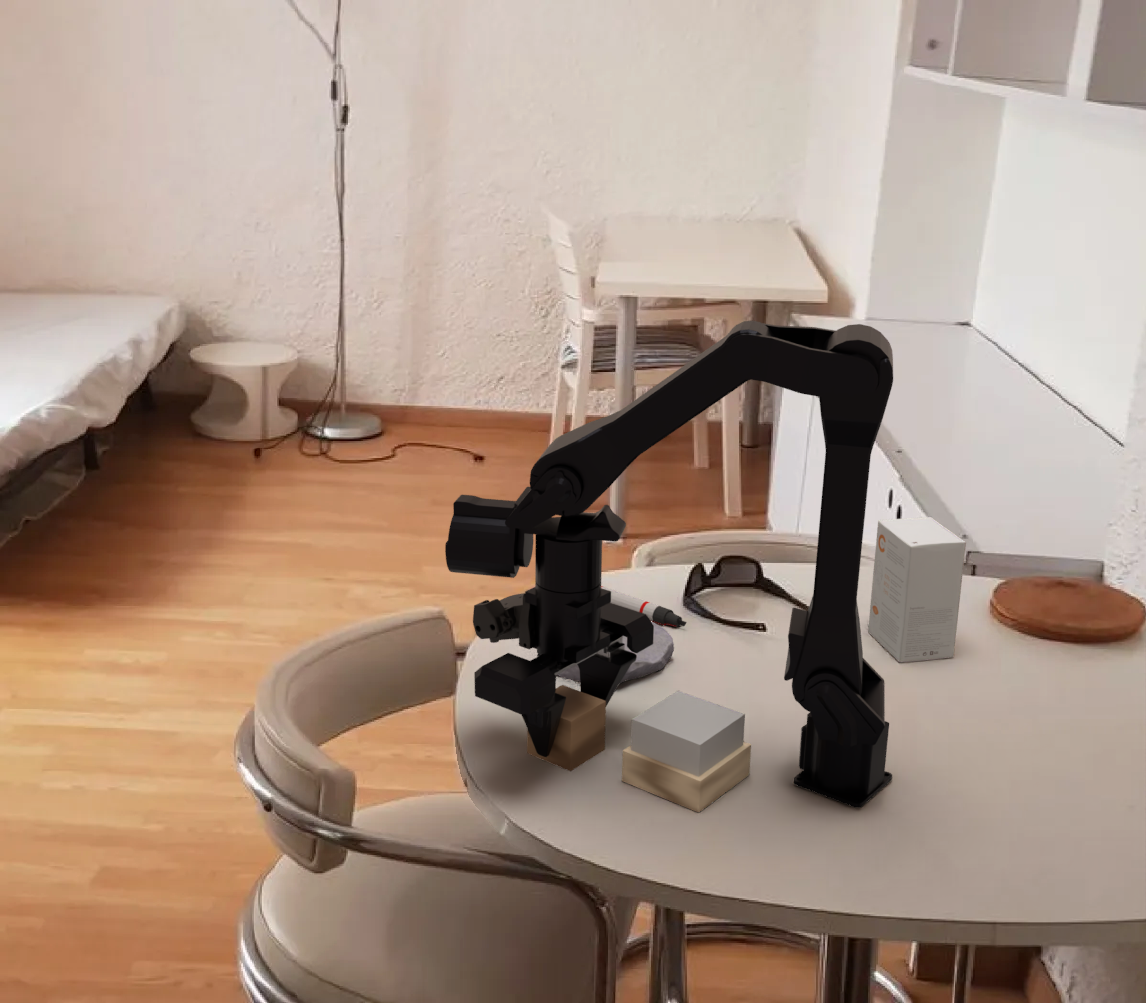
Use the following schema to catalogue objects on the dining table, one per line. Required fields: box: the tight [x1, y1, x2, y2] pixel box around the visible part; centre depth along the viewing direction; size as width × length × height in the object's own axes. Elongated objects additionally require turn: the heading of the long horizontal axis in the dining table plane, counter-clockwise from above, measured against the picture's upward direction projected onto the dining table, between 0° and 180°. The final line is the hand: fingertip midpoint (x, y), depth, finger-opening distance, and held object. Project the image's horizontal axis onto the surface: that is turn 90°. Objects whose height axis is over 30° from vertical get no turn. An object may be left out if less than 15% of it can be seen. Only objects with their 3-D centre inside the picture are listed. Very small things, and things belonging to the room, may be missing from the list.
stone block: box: [557, 622, 675, 684], centre depth 143 cm, size 12×5×10 cm
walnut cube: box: [526, 684, 607, 772], centre depth 125 cm, size 5×5×5 cm
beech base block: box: [621, 741, 752, 813], centre depth 121 cm, size 8×8×3 cm
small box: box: [867, 516, 967, 663], centre depth 146 cm, size 8×6×13 cm
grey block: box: [630, 690, 746, 777], centre depth 120 cm, size 7×7×3 cm
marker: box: [601, 585, 687, 628], centre depth 155 cm, size 15×2×2 cm, turn 49°
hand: (566, 740), depth 126 cm, fingers open, 6 cm apart
